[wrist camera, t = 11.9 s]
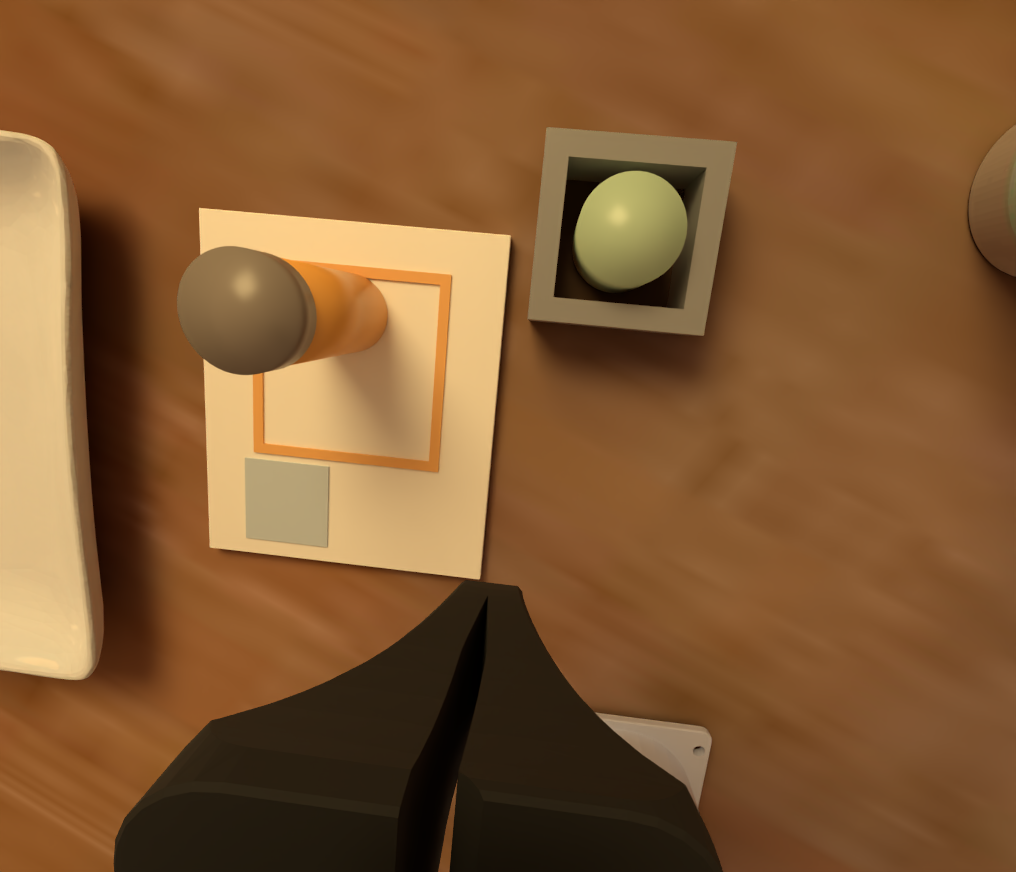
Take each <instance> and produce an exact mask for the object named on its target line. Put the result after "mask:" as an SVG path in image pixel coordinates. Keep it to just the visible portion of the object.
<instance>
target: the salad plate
mask: <svg viewBox="0 0 1016 872" xmlns="http://www.w3.org/2000/svg"><path fill="white" fill-rule="evenodd" d="M103 635H104V608H103V597H102V589H101V580H100V571H99V562H98V553H97V544H96V534H95V523H94V512H93V501H92V489H91V474H90V459H89V444H88V429H87V411H86V392H85V373H84V350H83V327H82V291H81V230H80V216H79V208H78V200H77V195H76V191H75V188H74V184H73V181H72V179H71V176H70V174H69V171H68V169H67V167H66V166H65V164H64V162H63V161H62V159H61V157H60V156H59V154H58V153H57V152H56V151H55V149H54V148H53V147H52V146H51V145H49V144H48V143H46V142H45V141H43V140H41V139H39V138H37V137H34V136H30V135H26V134H22V133H16V132H9V131H1V130H0V670H4V671H11V672H18V673H25V674H31V675H37V676H44V677H51V678H59V679H67V680H83V679H86V678H88V677H89V676H90V675H91V674H92V673H93V672H94V670H95V669H96V667H97V665H98V662H99V659H100V654H101V649H102V645H103Z"/></svg>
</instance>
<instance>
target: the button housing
mask: <svg viewBox="0 0 1016 872" xmlns="http://www.w3.org/2000/svg"><path fill="white" fill-rule="evenodd" d="M736 145H737V142H731V141H718V140H706V139H693V138H680V137H667V136H654V135H641V134H629V133H616V132H603V131H590V130H577V129H565V128H552V127H547V130H546V140H545V150H544V160H543V170H542V180H541V190H540V200H539V210H538V220H537V230H536V240H535V250H534V260H533V270H532V280H531V290H530V300H529V310H528V320H529V321H538V322H548V323H559V324H569V325H580V326H590V327H601V328H611V329H622V330H632V331H643V332H653V333H664V334H674V335H690V336H704V331H705V325H706V319H707V314H708V308H709V302H710V296H711V290H712V285H713V279H714V273H715V267H716V261H717V256H718V250H719V244H720V238H721V232H722V227H723V221H724V215H725V209H726V203H727V198H728V192H729V186H730V180H731V174H732V169H733V163H734V157H735V151H736ZM627 171H644V172H649V173H652V174H655V175H657V176H659V177H661V178H663V179H664V180H666V181H667V182H668V183H669V184H670V185H672V186H673V188H674V189H685V192H684V198H683V204H684V207H685V210H686V215H687V235H686V239H685V243H684V246H683V249H682V251H681V253H680V255H679V257H678V258H677V260H676V261H675V263H674V264H673V269H672V276H671V282H670V288H669V295H668V301H667V308H664V307H653V306H643V305H632V304H621V303H610V302H600V301H589V300H578V299H567V298H557V297H553V296H554V287H555V278H556V269H557V260H558V251H559V242H560V232H561V223H562V214H563V205H564V196H565V187H566V180H576V181H588V182H600V183H602V182H603V181H605V180H606V179H608V178H610V177H611V176H614V175H616V174H619V173H622V172H627Z"/></svg>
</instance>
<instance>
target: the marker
mask: <svg viewBox="0 0 1016 872" xmlns="http://www.w3.org/2000/svg"><path fill="white" fill-rule="evenodd" d="M177 309H178V316H179V320H180V324H181V327H182V329H183V332H184V334H185V336H186V338H187V340H188V341H189V343H190V344H191V346H192V347H193V348H194V349H195V351H196V352H197V353H198V354H199V355H200V356H201V357H202V358H203V359H205V360H206V361H207V362H208V363H210V364H211V365H213V366H215V367H216V368H218V369H221V370H223V371H225V372H228V373H232V374H237V375H255V374H260V373H265V372H270V371H274V370H279V369H282V368H285V367H287V366H290V365H295V364H300V363H305V362H310V361H315V360H319V359H324V358H329V357H334V356H339V355H344V354H349V353H354V352H359V351H363V350H366V349H368V348H370V347H372V346H373V345H374V344H376V343H377V342H378V341H379V339H380V338H381V337H382V335H383V333H384V331H385V328H386V325H387V318H388V312H387V306H386V302H385V300H384V297H383V295H382V293H381V292H380V290H379V289H378V288H377V287H376V286H375V285H374V284H373V283H372V282H371V281H370V280H368V279H367V278H365V277H363V276H361V275H357V274H354V273H349V272H344V271H340V270H335V269H331V268H326V267H321V266H317V265H312V264H307V263H303V262H298V261H294V260H289V259H284V258H280V257H277V256H275V255H273V254H269V253H266V252H261V251H257V250H252V249H248V248H243V247H237V246H223V247H217V248H214V249H211V250H208V251H206V252H204V253H203V254H201V255H200V256H198V257H197V258H196V259H195V260H194V261H193V262H192V263H191V264H190V265H189V266H188V268H187V269H186V271H185V273H184V274H183V276H182V279H181V282H180V285H179V289H178V295H177Z"/></svg>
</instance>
